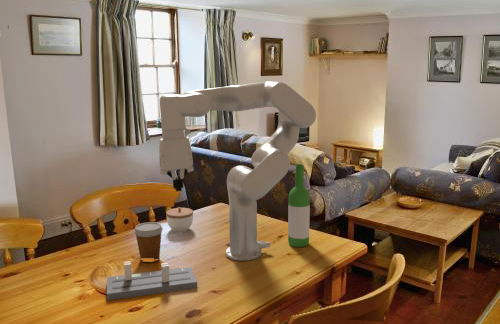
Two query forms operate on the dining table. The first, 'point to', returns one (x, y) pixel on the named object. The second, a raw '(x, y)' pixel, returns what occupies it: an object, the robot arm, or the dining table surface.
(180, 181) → the robot arm
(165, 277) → the fader
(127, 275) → the fader
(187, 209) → the lidded jar
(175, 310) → the dining table surface
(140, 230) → the disposable coffee cup
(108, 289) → the console
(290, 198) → the wine bottle
